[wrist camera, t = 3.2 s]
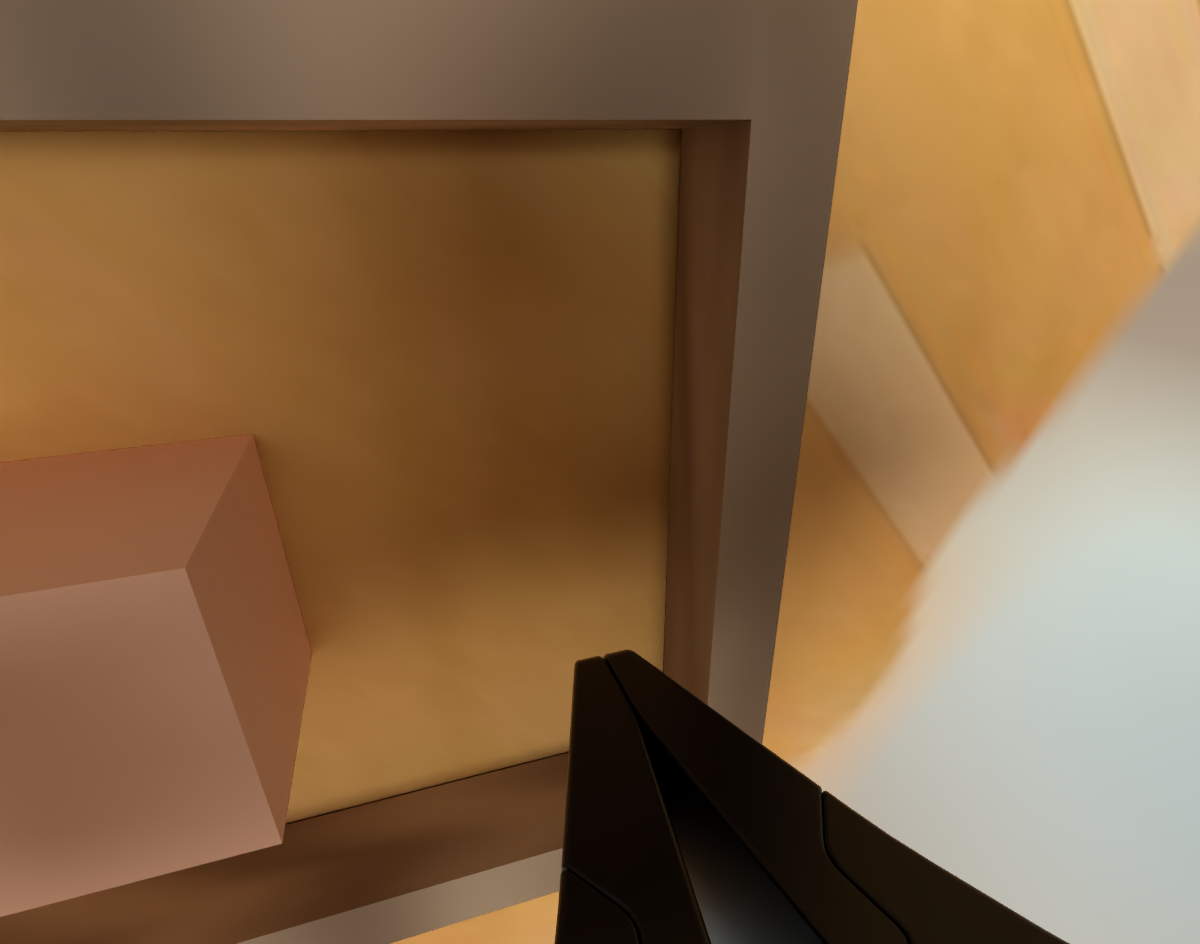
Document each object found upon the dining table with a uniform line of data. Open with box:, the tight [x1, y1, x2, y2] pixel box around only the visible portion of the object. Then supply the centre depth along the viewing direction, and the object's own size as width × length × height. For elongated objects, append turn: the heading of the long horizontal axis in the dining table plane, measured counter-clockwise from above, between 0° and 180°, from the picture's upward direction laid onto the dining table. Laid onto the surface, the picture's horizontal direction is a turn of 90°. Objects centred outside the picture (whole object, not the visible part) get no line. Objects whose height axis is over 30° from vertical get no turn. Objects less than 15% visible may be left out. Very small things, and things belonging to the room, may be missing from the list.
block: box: [0, 434, 312, 917], centre depth 10 cm, size 5×5×4 cm
